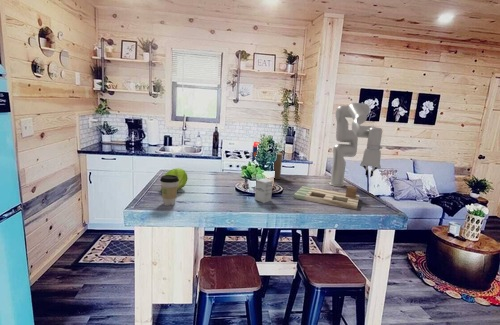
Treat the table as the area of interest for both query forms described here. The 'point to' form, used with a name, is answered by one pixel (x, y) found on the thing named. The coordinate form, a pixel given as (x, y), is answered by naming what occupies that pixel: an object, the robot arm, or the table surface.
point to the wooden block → (278, 166)
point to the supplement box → (263, 190)
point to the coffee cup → (169, 189)
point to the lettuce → (179, 176)
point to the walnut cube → (351, 191)
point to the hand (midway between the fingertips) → (368, 176)
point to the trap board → (326, 197)
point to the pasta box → (254, 150)
